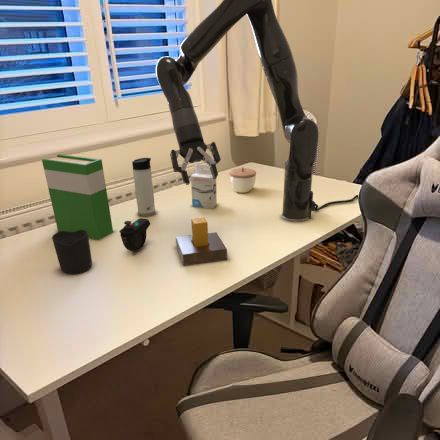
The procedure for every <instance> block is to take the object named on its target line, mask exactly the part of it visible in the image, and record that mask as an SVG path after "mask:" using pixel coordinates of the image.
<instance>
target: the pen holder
mask: <svg viewBox="0 0 440 440" xmlns="http://www.w3.org/2000/svg"><path fill="white" fill-rule="evenodd" d="M51 240H52V243H53V247H54V250H55V254H56V257H57V262H58V264H59V267H60V268H59V269H60V270H61V271H62V273H65V274H67V275H79V274H83V273H86V272H87V271H89V270H90V269H91V268H92V267H93V259H92V251H91V246H90V238H88V232H87V231H85V230H78V231H75V232H68V231H61V232H59V231H57V232H55V233H54V234H53V235H52V237H51Z"/></svg>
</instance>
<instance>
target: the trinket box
mask: <svg viewBox="0 0 440 440" xmlns="http://www.w3.org/2000/svg"><path fill="white" fill-rule="evenodd" d="M256 176H257V171H256V170H255V169H252V168H245V167H241V168H234V169H231V170H230V171H229V181H230V185H231V187H232V189H233V190H234V192H236V193H240V194H245V193H246V194H247V193H250V192H251V190H252V189H253V188H254V186H255V184H256V180H257V179H256Z"/></svg>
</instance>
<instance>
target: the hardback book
mask: <svg viewBox="0 0 440 440" xmlns="http://www.w3.org/2000/svg"><path fill="white" fill-rule="evenodd" d="M41 162H42V167H43V171H44V176H45V179H46V184H47V189H48V194H49V198H50V202H51V206H52V211H53V216H54V219H55V225H56V228H57V232H61V231H68V232H75V231H78V230H85V231H87V232H88V238H89V239H92V240H96V241H99V240H101V239H103V238H106V237H107V236H108V235H110V234H112V233H114V227H113V222H112V216H111V209H110V204H109V203H110V202H109V197H108V190H107V183H106V179H105V171H104V167H103V166H104V165H103V160H102V159H101V158H94V157H86V156H84V157H83V156H77V155H69V154H57V155H56V157H55V158H51V159H50V158H49V159H48V158H42V159H41Z"/></svg>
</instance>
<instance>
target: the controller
mask: <svg viewBox="0 0 440 440" xmlns="http://www.w3.org/2000/svg"><path fill="white" fill-rule="evenodd" d="M123 224H124V226H123V227H122V228H121V229H120V230H119V234H120V238H121V242H122V245H123V247H124V248H125V249H126V250H128V251H130V252H139V251H141V250H142V249H143V247H144V246H145V243H146V241H147V230H148V228H149V227H150V226H151V225H152V224H151V222H150V220H149V219H148V218H143V217H142V218H138V219H136V220H135V221H131V220H125V221H123Z"/></svg>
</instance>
